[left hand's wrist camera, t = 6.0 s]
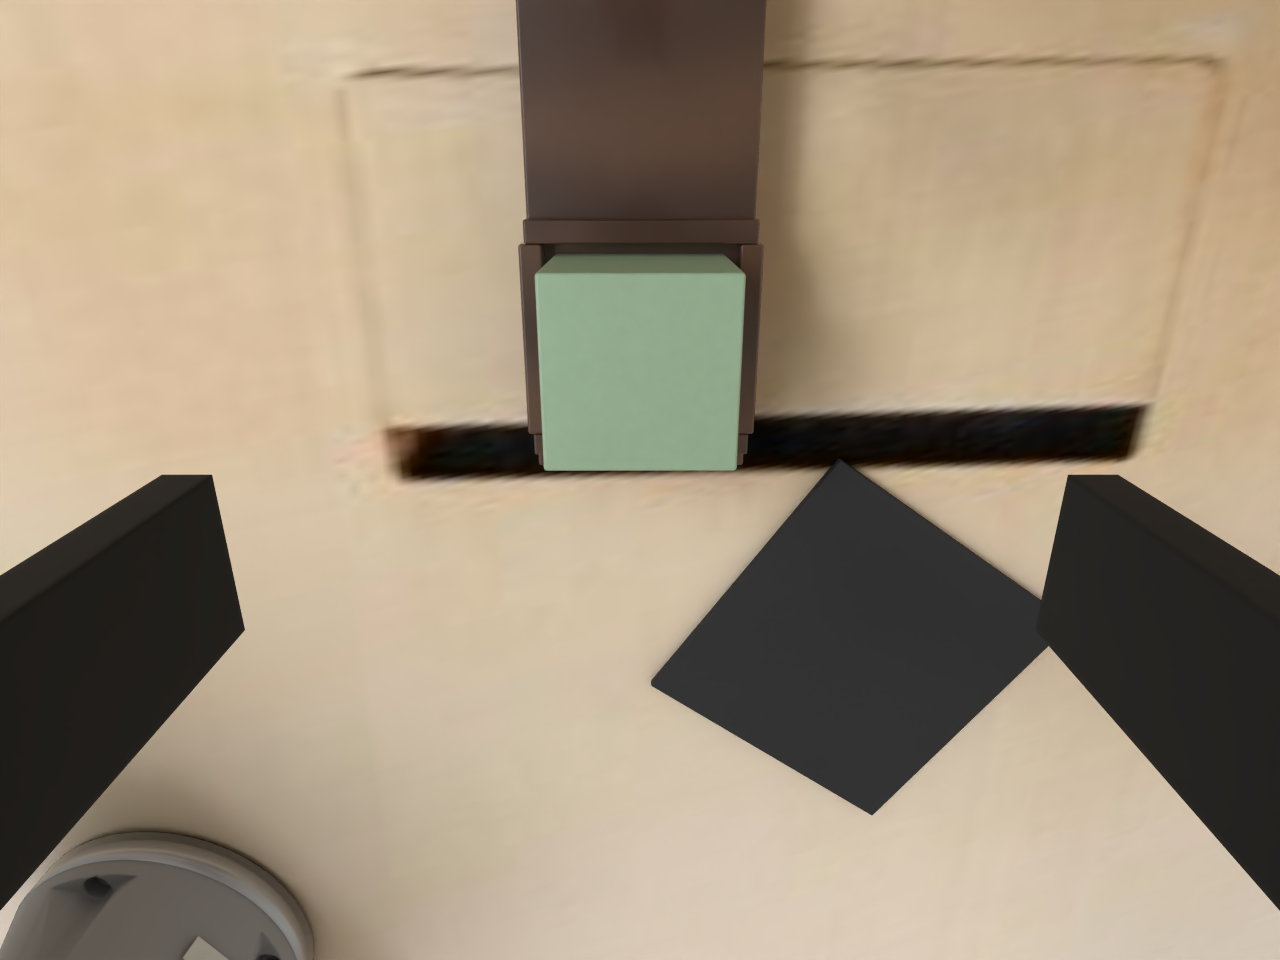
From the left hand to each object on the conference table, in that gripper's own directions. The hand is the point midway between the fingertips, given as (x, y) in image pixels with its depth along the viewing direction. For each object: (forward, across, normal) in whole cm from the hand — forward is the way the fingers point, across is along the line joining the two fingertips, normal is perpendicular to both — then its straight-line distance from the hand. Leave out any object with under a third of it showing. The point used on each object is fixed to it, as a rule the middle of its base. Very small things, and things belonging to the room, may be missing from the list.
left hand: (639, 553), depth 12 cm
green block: (+18, 0, 0) cm, 18 cm away
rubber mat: (+21, -10, +16) cm, 28 cm away
